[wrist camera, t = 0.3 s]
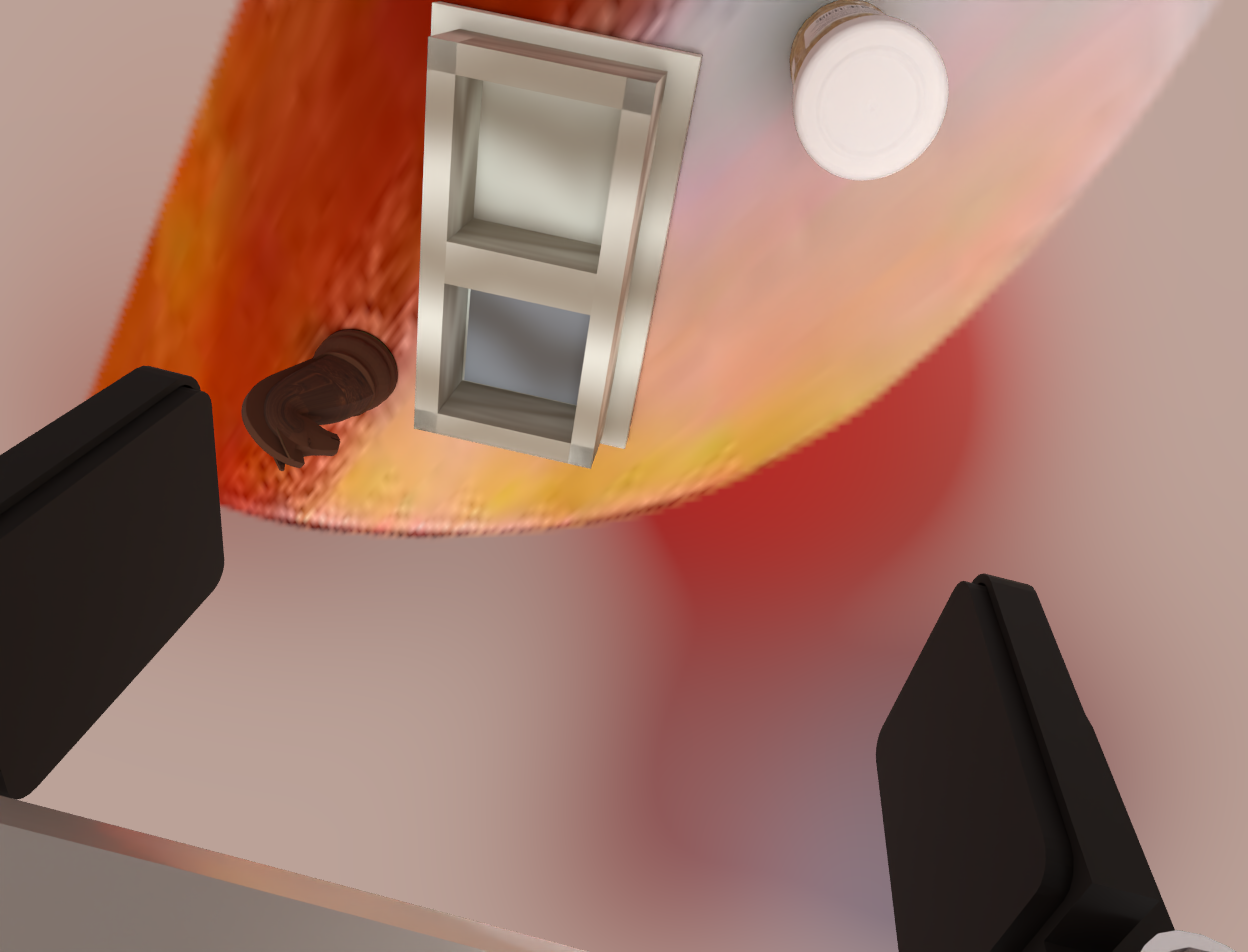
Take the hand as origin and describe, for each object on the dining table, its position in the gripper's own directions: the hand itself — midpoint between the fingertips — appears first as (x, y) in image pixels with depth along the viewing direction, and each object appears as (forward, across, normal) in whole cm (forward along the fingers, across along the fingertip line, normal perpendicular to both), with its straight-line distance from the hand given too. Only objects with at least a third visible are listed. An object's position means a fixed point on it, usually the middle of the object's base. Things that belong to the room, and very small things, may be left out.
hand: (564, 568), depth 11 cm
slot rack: (+34, +7, +8) cm, 35 cm away
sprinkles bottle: (+34, -4, -4) cm, 34 cm away
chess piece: (+34, +17, +17) cm, 42 cm away
